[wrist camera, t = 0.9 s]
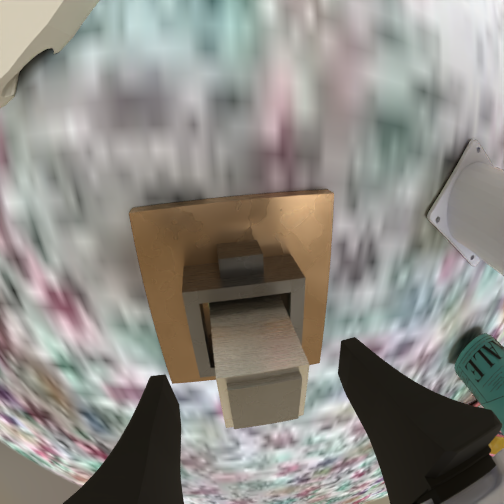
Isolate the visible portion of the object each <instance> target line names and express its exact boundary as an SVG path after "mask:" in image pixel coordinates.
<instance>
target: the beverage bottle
mask: <svg viewBox="0 0 504 504" xmlns="http://www.w3.org/2000/svg"><path fill="white" fill-rule="evenodd" d="M497 342H498V341H497V340H495V339H494V338H493V337H492V335H491V336H490V335H488V334H486V333H484V334H481V335H479V336H477V337H476V338H475V339H473V340H472V341H471V342H470V343H469V344H468V345H467V346H466V347H465V348H464V349H463V351H462V352H461V353H460V355H459V357H458V358H457V360H456V363H455V371H456V373H457V375H458V376H459V377H460V378H461V380H462V381H463V382H464V383H465V385H466V388H467V387H468V388H469V390H470V391H471V392H472V394H473V395H474V396H475V397H476V399H477V400H478V401H479V403H480V404H481V405H482V406H483V407H484V409H489V410H492V411H493V412H494V414H495V415H496V416H497V418H498V419H499V420H500V422H501V423H502V428H501V430H500V431H501V432H502V434H503V435H504V347H503V346H502V345H501V344H500V343H499V342H498V343H499V344H498V343H497ZM459 377H458V378H459ZM463 382H462V383H463ZM470 391H469V392H470Z"/></svg>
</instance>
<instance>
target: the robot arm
mask: <svg viewBox="0 0 504 504" xmlns="http://www.w3.org/2000/svg"><path fill="white" fill-rule="evenodd" d="M476 149H477V150H476ZM427 218H428V220H429V221H430V222H431V223H432V224H433V225H434V226H435V227H436V228H437V229H438V230H439V231H440V232H441V233H442V234H443V235H444V236H445V237H446V238H447V239H448V240H449V241H450V243H451V244H452V245H453V246H454V247H455V248H456V249H457V250H458V251H459V252H460V253H461V254H462V255H463V257H464V258H465V259H466V260H467V261H468V262H469V263H470V264H471V265H472V266H473V267H475V266H476V265H477V264H478V263H479V261H480V260H482V261H484V262H485V263H487V264H488V265H489V266H491V267H492V268H494V269H495V270H496V271H498V272H499V273H500V274H502V275H503V276H504V170H502V169H499V168H497V167H494V166H493V164H492V162H491V161H490V159H489V158H488V156H487V155H486V153H485V151H484V150H483V148H482V147H481V145H480V144H479V142H478V141H477V140H474V139H472V140H470V142H469V144H468V146H467V148H466V149H465V151H464V153H463V155H462V157H461V159H460V160H459V162H458V164H457V166H456V167H455V169H454V171H453V173H452V174H451V176H450V178H449V180H448V181H447V183H446V185H445V186H444V188H443V190H442V191H441V193H440V194H439V196H438V198H437V199H436V201H435V203H434V204H433V206H432V207H431V209H430V210H429V212H428V215H427ZM436 218H437V219H436ZM435 220H436V221H435ZM338 375H339V377H340V380H341V383H342V386H343V388H344V391H345V393H346V395H347V397H348V399H349V401H350V403H351V405H352V407H353V408H354V410H355V412H356V414H357V416H358V418H359V420H360V421H361V423H362V425H363V427H364V429H365V431H366V433H367V435H368V437H369V439H370V442H371V444H372V447H373V449H374V452H375V455H376V457H377V460H378V463H379V466H380V469H381V472H382V475H383V478H384V482H385V485H386V488H387V492H388V496H389V500H390V504H504V448H503V449H502V450H500V451H499V452H498V453H496V454H495V455H494V456H493V457H491V456H490V454H489V453H490V452H491V448H490V447H489V444H490V443H491V441H492V440H493V439H494V438H495V437H496V435H497V434H498V433H499V431H500V430H501V428H502V423H501V422H500V420H499V419H498V418H497V416H496V415H495V414H494V412H493V411H492V410H489V409H484V408H480V407H475V406H471V405H468V404H464V403H461V402H458V401H455V400H452V399H450V398H447V397H445V396H442V395H440V394H438V393H435V392H433V391H431V390H429V389H427V388H425V387H423V386H422V385H420V384H418V383H416V382H414V381H413V380H411V379H410V378H408V377H406V376H405V375H403V374H402V373H400V372H399V371H398V370H396V369H395V368H393V367H392V366H391V365H389V364H388V363H387V362H385V361H384V360H383V359H381V358H380V357H379V356H377V355H376V354H375V353H374V352H372V351H371V350H370V349H369V348H367V347H366V346H365V345H364V344H363V343H361V342H360V341H359V340H358V339H356V338H355V337H354V338H350V339H346V340H343V341H341V349H340V359H339V369H338ZM180 455H181V419H180V409H179V403H178V401H177V399H176V397H175V395H174V392H173V390H172V388H171V386H170V384H169V381H168V379H167V377H166V375H157V376H151V377H150V378H149V381H148V383H147V386H146V388H145V390H144V393H143V395H142V397H141V399H140V401H139V404H138V406H137V408H136V410H135V412H134V414H133V416H132V418H131V420H130V422H129V424H128V425H127V427H126V429H125V431H124V433H123V434H122V436H121V438H120V440H119V441H118V443H117V444H116V446H115V447H114V449H113V450H112V452H111V453H110V455H109V456H108V457H107V459H106V460H105V461H104V463H103V464H102V465H101V466H100V468H99V469H98V470H97V471H96V472H95V474H94V475H93V476H92V477H91V478H90V479H89V480H88V481H87V482H86V483H85V484H84V485H83V486H82V487H81V488H80V489H79V490H78V491H77V492H76V493H75V494H74V495H72V496H71V497H70V498H69V499H68V500H66V501H65V502H64V503H63V504H184V501H183V494H182V486H181V475H180Z"/></svg>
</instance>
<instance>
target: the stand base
mask: <svg viewBox="0 0 504 504" xmlns="http://www.w3.org/2000/svg"><path fill="white" fill-rule="evenodd" d="M333 203H334V193H333V192H331V191H330V190H328V189H323V190H306V191H291V192H277V193H264V194H252V195H241V196H230V197H220V198H210V199H201V200H192V201H183V202H174V203H166V204H158V205H150V206H143V207H136V208H132V209H131V211H130V212H129V216H130V222H131V227H132V232H133V237H134V242H135V247H136V252H137V256H138V261H139V265H140V270H141V274H142V279H143V283H144V287H145V291H146V295H147V299H148V303H149V307H150V310H151V314H152V318H153V322H154V325H155V329H156V332H157V336H158V339H159V343H160V346H161V349H162V353H163V356H164V359H165V362H166V366H167V369H168V372H169V375H170V378H171V381H172V384H173V383H186V382H197V381H207V380H216V373H215V363H214V353H213V343H212V333H211V321H210V311H209V304H208V303H210V302H219V301H227V300H236V299H244V298H252V297H259V296H267V295H274V294H279V295H280V297H281V300H282V302H283V304H284V306H285V309H286V311H287V313H288V316H289V318H290V320H291V323H292V325H293V327H294V330H295V332H296V334H297V337H298V339H299V341H300V344H301V346H302V348H303V351H304V353H305V355H306V358H307V360H308V362H309V365H312V364H317V363H320V356H321V348H322V340H323V331H324V322H325V313H326V303H327V293H328V282H329V270H330V256H331V242H332V224H333Z"/></svg>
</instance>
